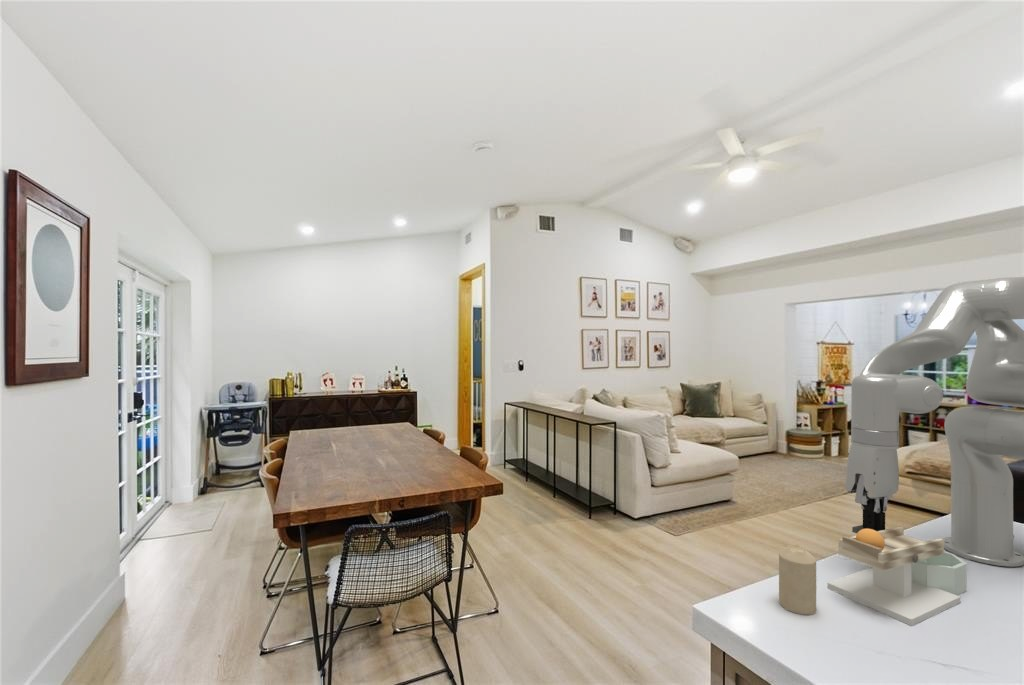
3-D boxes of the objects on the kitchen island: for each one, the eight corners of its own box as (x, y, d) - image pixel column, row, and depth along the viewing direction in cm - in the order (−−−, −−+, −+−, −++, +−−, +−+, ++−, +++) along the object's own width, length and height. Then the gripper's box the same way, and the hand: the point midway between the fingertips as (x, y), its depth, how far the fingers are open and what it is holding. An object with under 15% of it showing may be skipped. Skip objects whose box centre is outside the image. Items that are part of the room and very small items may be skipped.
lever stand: (876, 570, 94) (876, 536, 94) (960, 602, 82) (960, 563, 82) (827, 587, 87) (827, 551, 87) (911, 625, 75) (911, 583, 75)
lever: (867, 530, 97) (868, 514, 97) (944, 554, 86) (945, 536, 86) (806, 542, 88) (807, 524, 88) (883, 571, 77) (884, 551, 77)
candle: (822, 617, 78) (822, 556, 78) (785, 613, 79) (785, 553, 79) (808, 599, 83) (808, 542, 83) (774, 596, 84) (774, 540, 84)
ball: (864, 545, 84) (863, 523, 84) (890, 554, 81) (889, 531, 81) (851, 550, 83) (850, 527, 83) (876, 559, 79) (876, 535, 79)
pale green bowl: (909, 564, 96) (909, 539, 96) (974, 587, 87) (974, 560, 87) (881, 574, 92) (881, 549, 92) (947, 600, 83) (947, 571, 83)
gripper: (874, 432, 100) (873, 518, 100) (831, 437, 93) (831, 529, 93) (917, 438, 93) (916, 531, 93) (874, 444, 87) (873, 544, 86)
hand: (873, 530), depth 93 cm, fingers closed
